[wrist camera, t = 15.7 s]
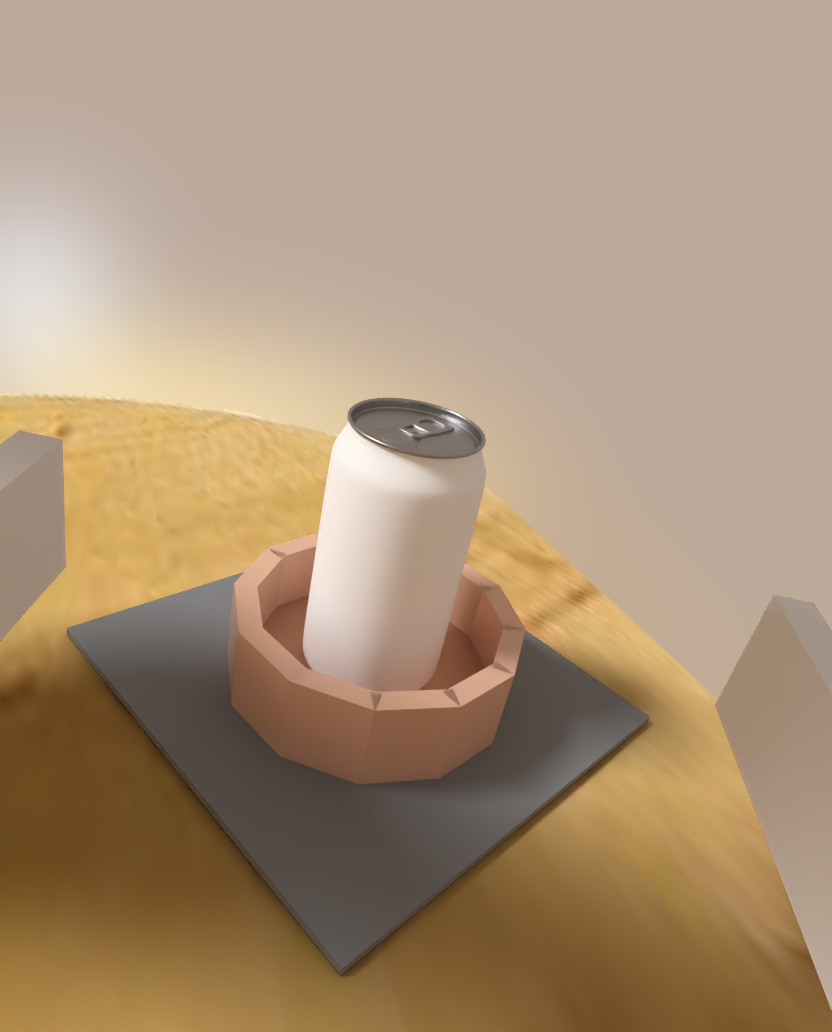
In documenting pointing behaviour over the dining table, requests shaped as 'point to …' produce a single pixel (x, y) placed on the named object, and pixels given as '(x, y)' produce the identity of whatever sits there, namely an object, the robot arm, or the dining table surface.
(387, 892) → the mat
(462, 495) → the can
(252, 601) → the bowl
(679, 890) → the dining table surface
